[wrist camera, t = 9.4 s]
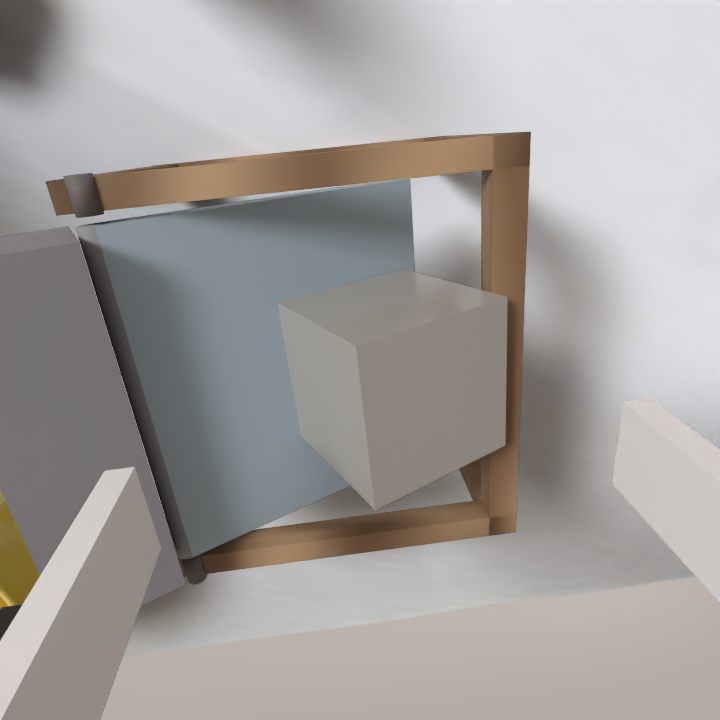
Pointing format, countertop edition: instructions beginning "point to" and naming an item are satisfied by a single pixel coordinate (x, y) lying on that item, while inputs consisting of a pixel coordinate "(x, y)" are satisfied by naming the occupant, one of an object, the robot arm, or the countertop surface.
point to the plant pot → (14, 561)
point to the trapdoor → (176, 361)
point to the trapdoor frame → (498, 275)
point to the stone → (398, 378)
